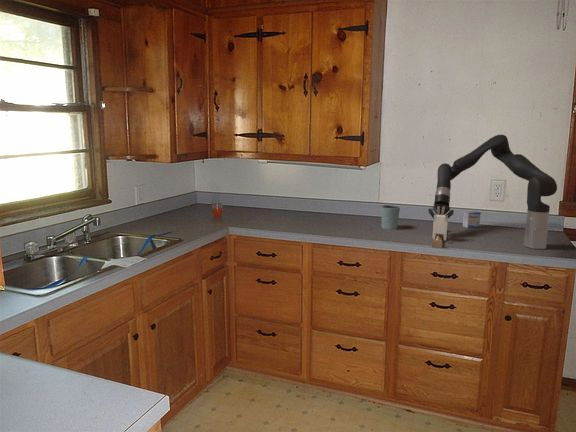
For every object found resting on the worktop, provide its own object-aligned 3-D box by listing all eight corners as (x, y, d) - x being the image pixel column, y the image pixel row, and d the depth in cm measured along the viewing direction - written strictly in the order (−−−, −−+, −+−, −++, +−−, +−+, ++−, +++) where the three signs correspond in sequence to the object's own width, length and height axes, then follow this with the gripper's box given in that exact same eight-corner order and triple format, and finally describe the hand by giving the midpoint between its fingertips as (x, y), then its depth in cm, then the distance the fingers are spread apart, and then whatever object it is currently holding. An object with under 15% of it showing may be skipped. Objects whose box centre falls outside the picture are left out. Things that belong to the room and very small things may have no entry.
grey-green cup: (385, 230, 269) (386, 208, 267) (376, 226, 279) (377, 205, 276) (402, 229, 272) (403, 207, 269) (393, 225, 281) (394, 204, 279)
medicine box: (467, 228, 275) (468, 212, 274) (462, 226, 280) (463, 211, 278) (479, 227, 278) (481, 212, 276) (474, 225, 282) (475, 210, 280)
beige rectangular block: (433, 237, 253) (434, 214, 251) (446, 238, 251) (448, 215, 249) (432, 239, 249) (433, 216, 247) (445, 240, 247) (447, 217, 244)
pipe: (437, 230, 271) (438, 224, 270) (454, 231, 268) (455, 225, 267) (432, 247, 236) (432, 240, 235) (451, 249, 233) (451, 242, 232)
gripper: (455, 202, 261) (453, 230, 253) (429, 201, 266) (425, 228, 257) (455, 194, 255) (453, 222, 247) (429, 192, 260) (425, 220, 251)
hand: (439, 225), depth 252 cm, fingers closed
